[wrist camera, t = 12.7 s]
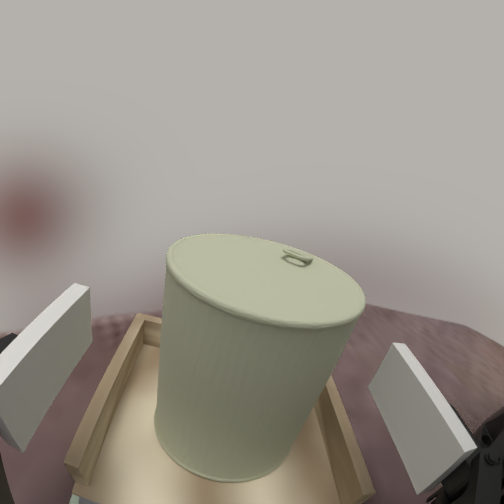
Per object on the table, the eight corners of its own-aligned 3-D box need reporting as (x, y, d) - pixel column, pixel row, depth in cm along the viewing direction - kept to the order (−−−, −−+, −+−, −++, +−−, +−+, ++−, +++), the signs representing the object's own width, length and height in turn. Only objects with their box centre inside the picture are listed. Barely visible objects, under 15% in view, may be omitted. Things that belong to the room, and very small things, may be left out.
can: (313, 423, 18) (386, 275, 14) (238, 510, 10) (331, 348, 7) (216, 363, 23) (249, 220, 19) (125, 414, 15) (124, 232, 11)
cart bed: (306, 373, 25) (318, 344, 24) (349, 524, 10) (379, 503, 9) (136, 345, 23) (137, 312, 22) (75, 498, 9) (58, 474, 7)
